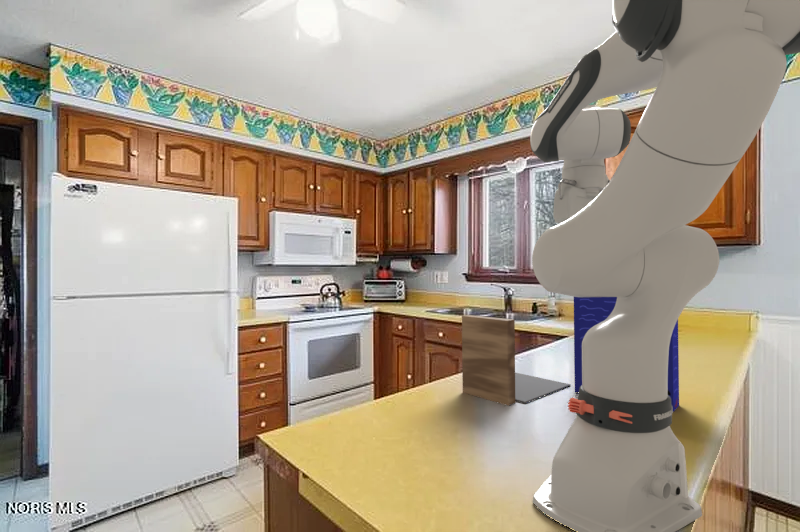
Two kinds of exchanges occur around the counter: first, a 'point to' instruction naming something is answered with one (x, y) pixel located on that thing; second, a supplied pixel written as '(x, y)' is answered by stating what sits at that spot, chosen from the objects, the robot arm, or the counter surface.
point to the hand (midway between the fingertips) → (584, 246)
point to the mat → (534, 387)
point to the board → (489, 358)
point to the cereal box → (598, 310)
